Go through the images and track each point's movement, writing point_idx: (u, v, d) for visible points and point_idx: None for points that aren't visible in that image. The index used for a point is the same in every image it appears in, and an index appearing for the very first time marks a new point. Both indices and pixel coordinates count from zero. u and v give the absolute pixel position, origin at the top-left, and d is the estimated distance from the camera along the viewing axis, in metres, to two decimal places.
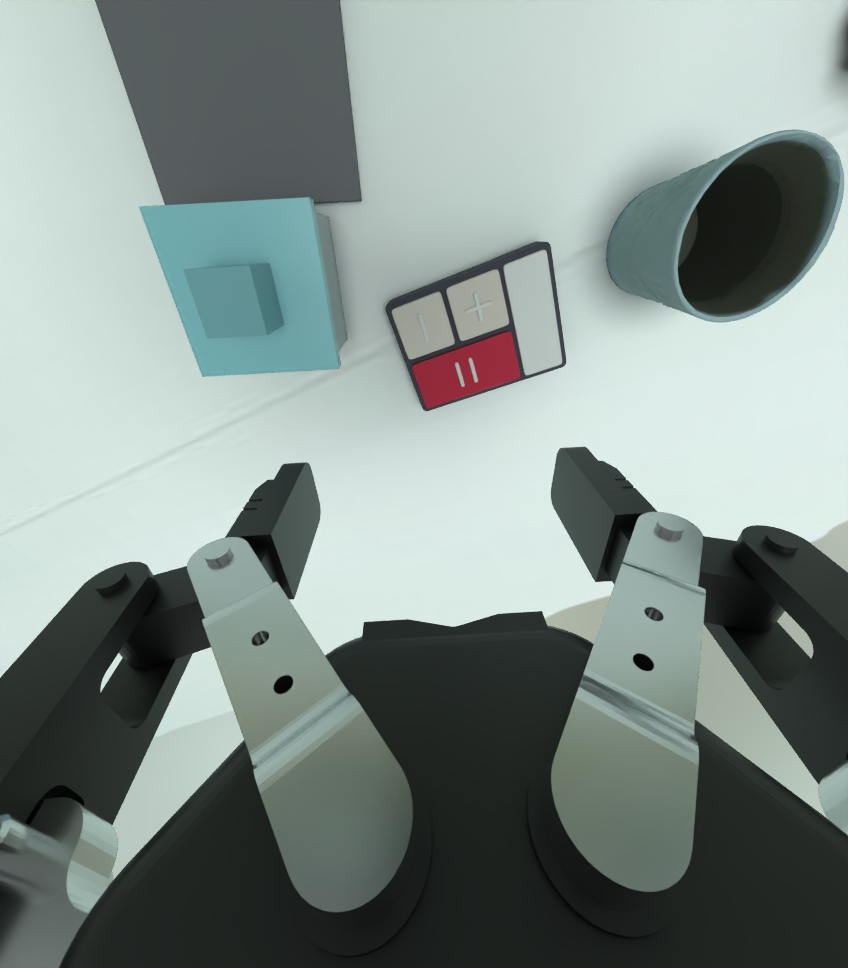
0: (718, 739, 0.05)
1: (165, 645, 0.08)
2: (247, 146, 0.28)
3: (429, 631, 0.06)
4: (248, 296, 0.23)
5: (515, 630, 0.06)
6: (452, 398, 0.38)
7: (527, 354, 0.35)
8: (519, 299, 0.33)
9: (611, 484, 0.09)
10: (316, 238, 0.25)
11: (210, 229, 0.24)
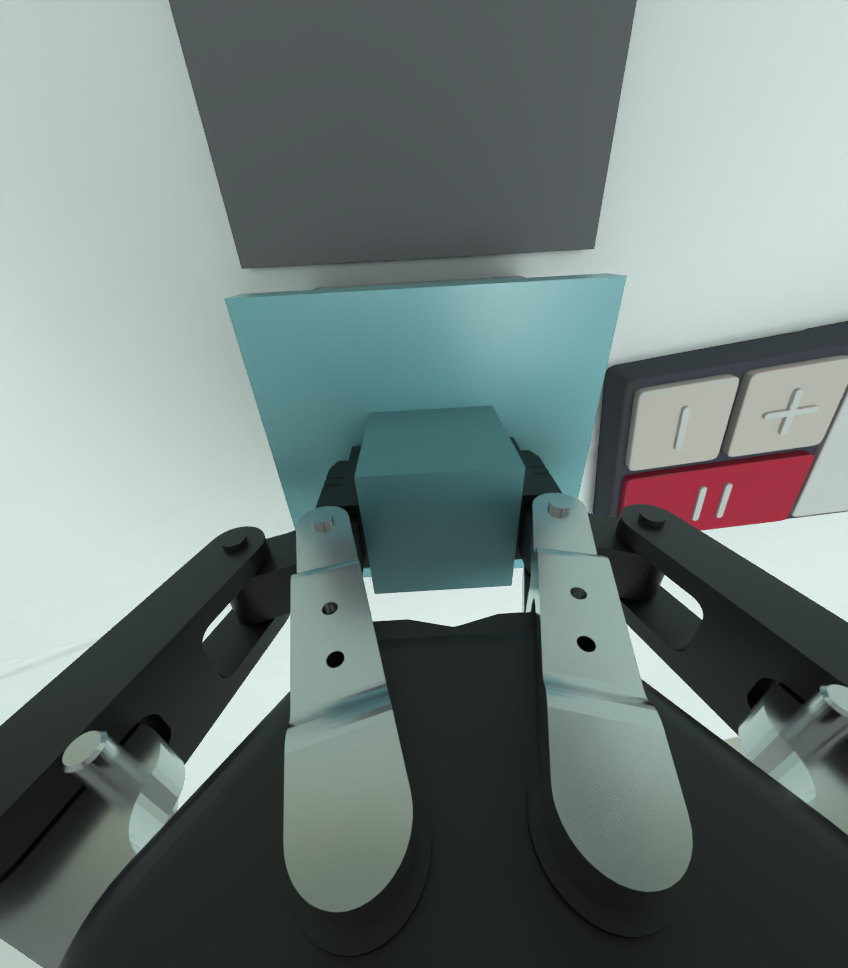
0: (718, 739, 0.05)
1: (276, 601, 0.08)
2: (407, 152, 0.15)
3: (429, 631, 0.06)
4: (498, 523, 0.09)
5: (515, 630, 0.06)
6: None
7: (814, 489, 0.22)
8: None
9: None
10: (604, 357, 0.11)
11: (381, 344, 0.11)
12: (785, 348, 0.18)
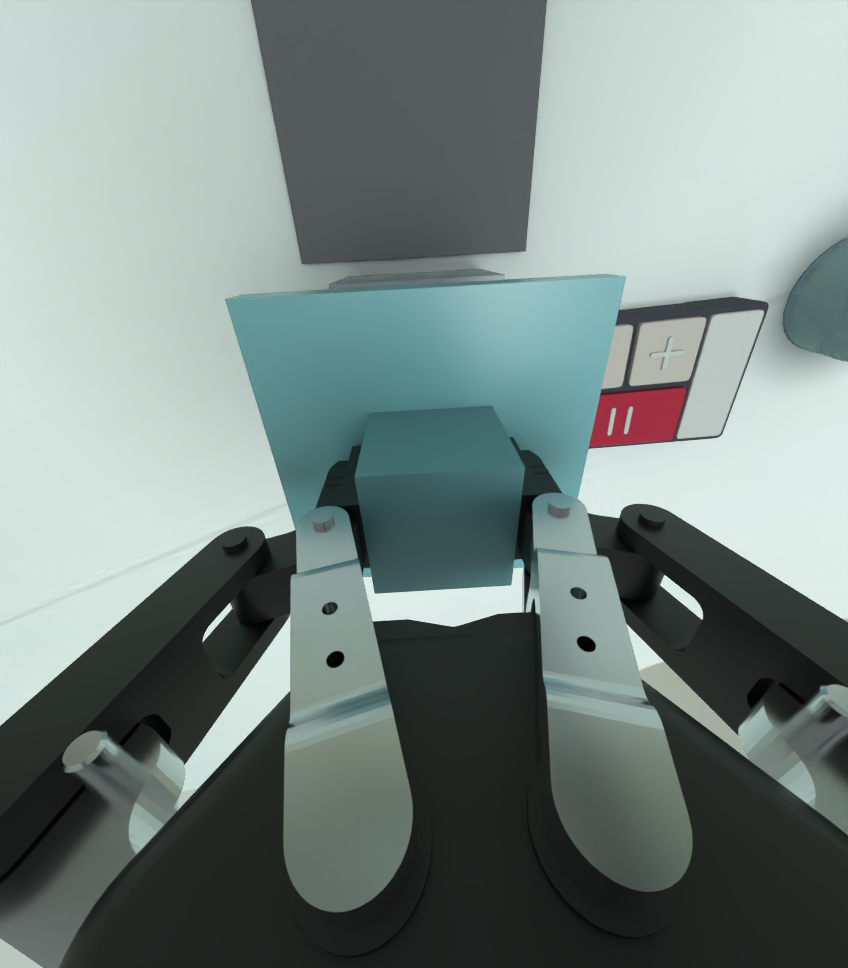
0: (718, 739, 0.05)
1: (276, 601, 0.08)
2: (406, 193, 0.24)
3: (429, 631, 0.06)
4: (498, 524, 0.09)
5: (515, 630, 0.06)
6: (590, 445, 0.32)
7: (689, 416, 0.31)
8: (710, 356, 0.28)
9: None
10: (604, 357, 0.12)
11: (381, 344, 0.11)
12: (665, 310, 0.28)
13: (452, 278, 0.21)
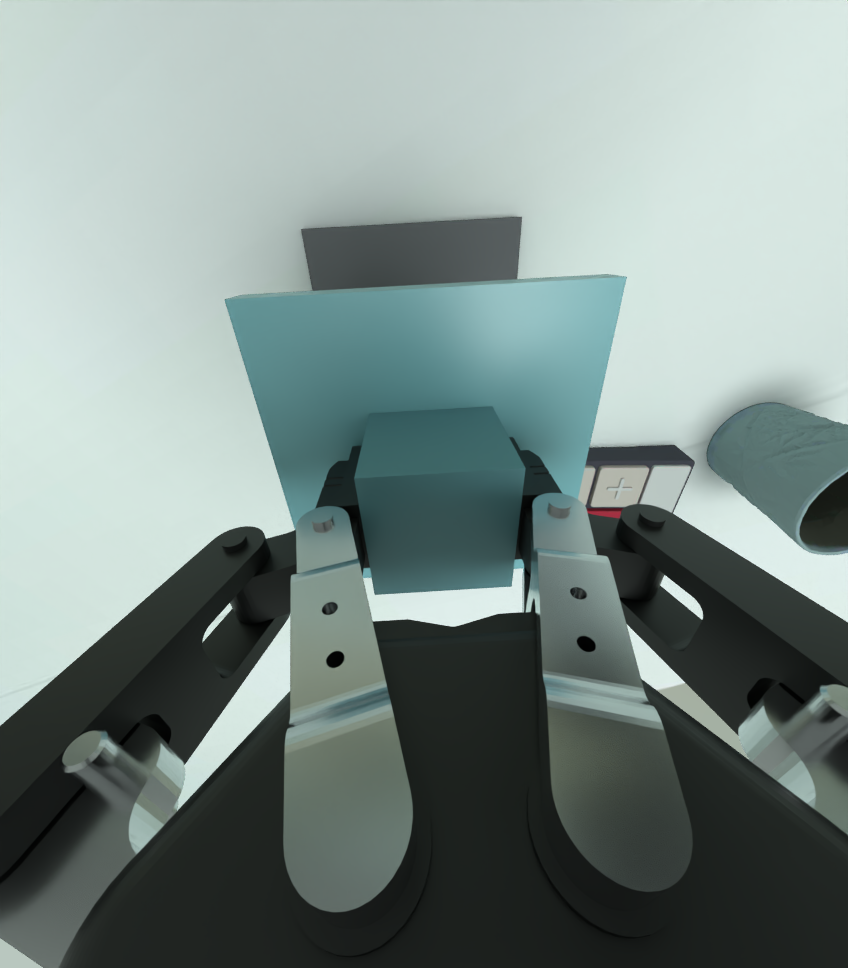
0: (718, 739, 0.05)
1: (276, 602, 0.08)
2: None
3: (429, 631, 0.06)
4: (498, 525, 0.09)
5: (515, 630, 0.06)
6: None
7: None
8: (652, 492, 0.37)
9: None
10: (604, 358, 0.11)
11: (381, 344, 0.11)
12: (620, 457, 0.36)
13: None
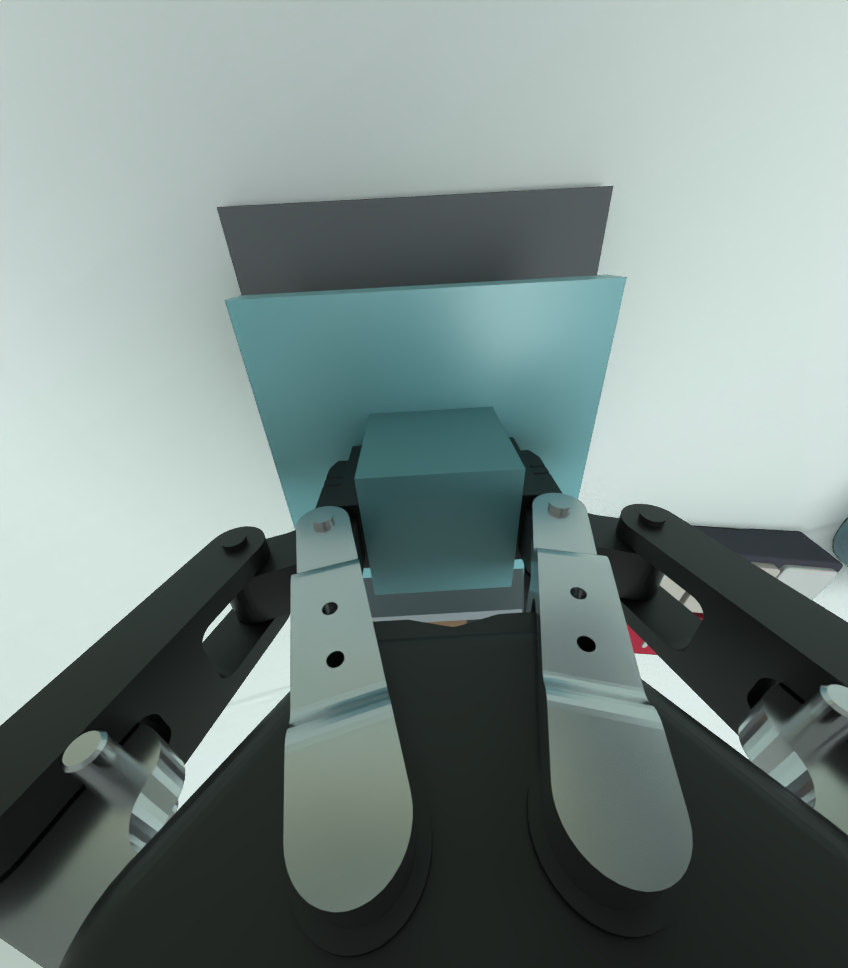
0: (718, 739, 0.05)
1: (276, 601, 0.08)
2: None
3: (429, 630, 0.06)
4: (498, 525, 0.09)
5: (515, 630, 0.06)
6: None
7: None
8: None
9: None
10: (604, 358, 0.11)
11: (381, 345, 0.11)
12: (737, 547, 0.25)
13: (478, 611, 0.18)
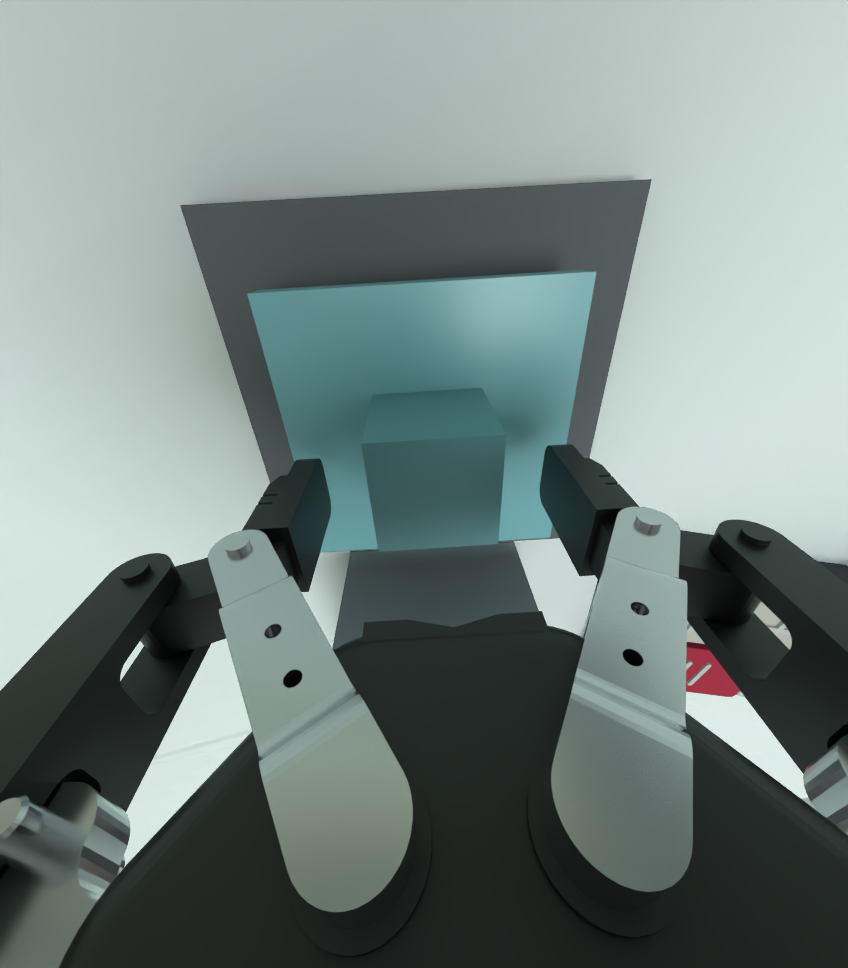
0: (718, 739, 0.05)
1: (187, 634, 0.08)
2: None
3: (429, 631, 0.06)
4: (485, 486, 0.11)
5: (515, 630, 0.06)
6: None
7: None
8: None
9: (595, 480, 0.10)
10: (580, 343, 0.13)
11: (383, 332, 0.12)
12: None
13: None
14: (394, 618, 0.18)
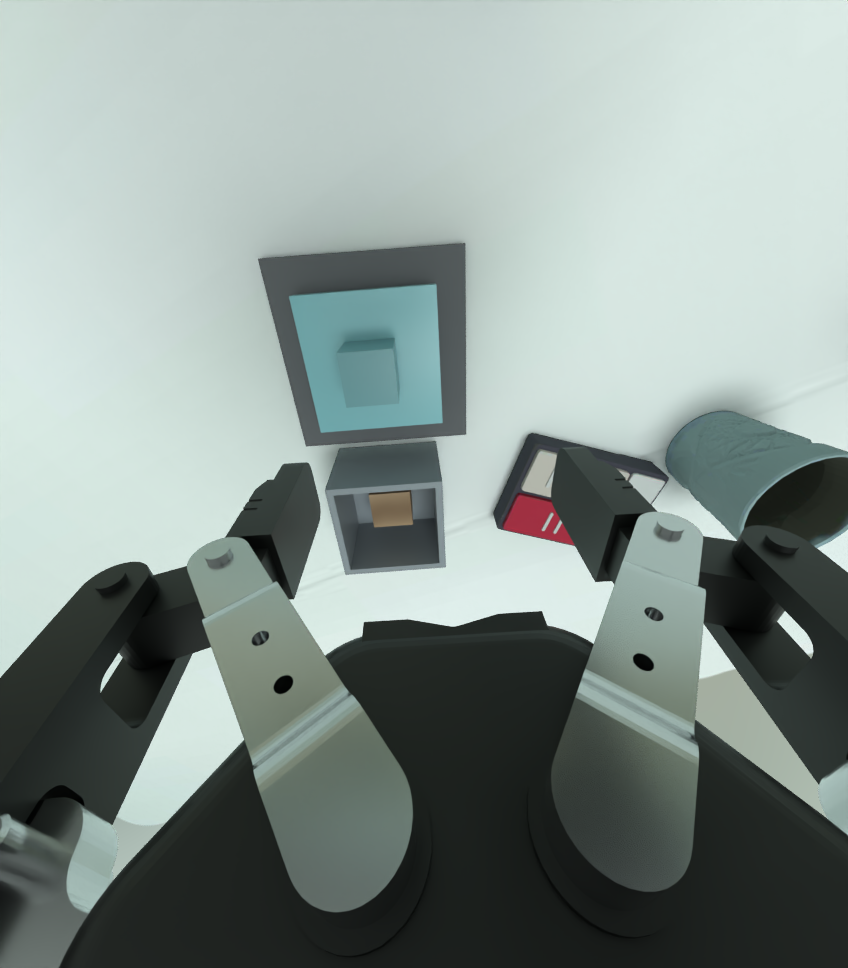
0: (718, 739, 0.05)
1: (165, 645, 0.08)
2: None
3: (429, 631, 0.06)
4: (388, 373, 0.27)
5: (515, 630, 0.06)
6: (527, 533, 0.41)
7: None
8: None
9: (611, 484, 0.09)
10: (437, 316, 0.29)
11: (347, 312, 0.28)
12: (606, 458, 0.37)
13: (407, 484, 0.31)
14: (361, 470, 0.34)
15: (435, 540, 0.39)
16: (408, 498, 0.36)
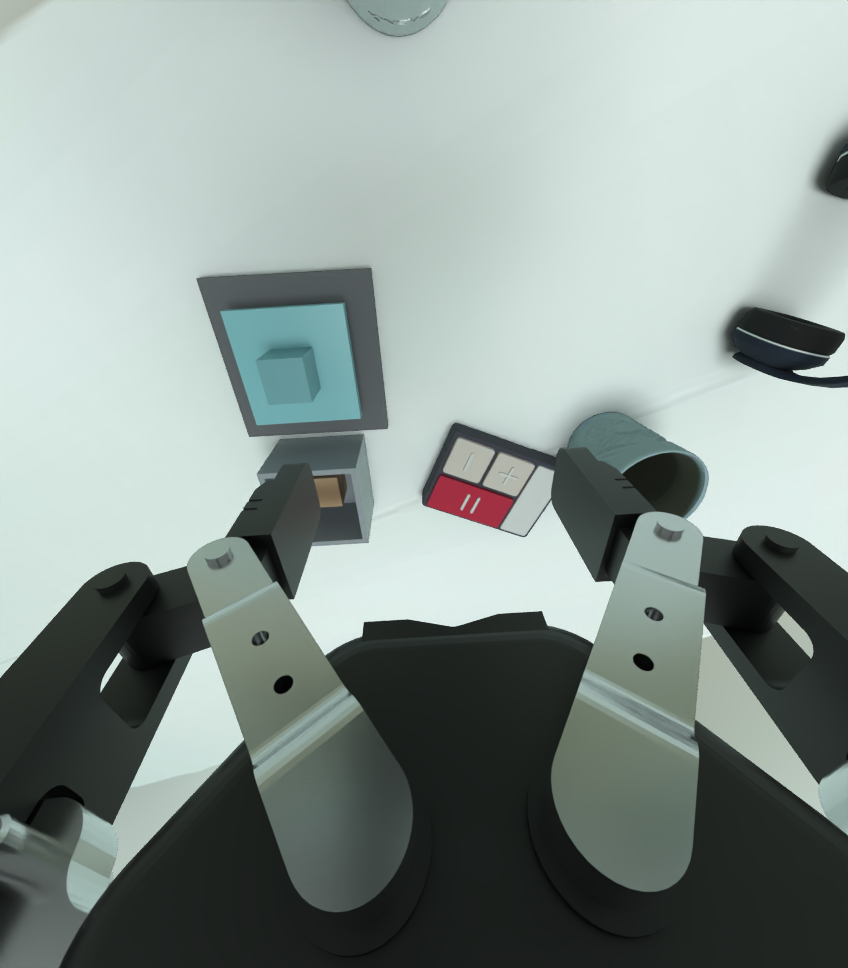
0: (718, 739, 0.05)
1: (165, 645, 0.08)
2: None
3: (429, 631, 0.06)
4: (300, 377, 0.32)
5: (515, 630, 0.06)
6: (447, 511, 0.46)
7: (511, 518, 0.47)
8: (532, 488, 0.45)
9: (611, 484, 0.09)
10: (347, 329, 0.34)
11: (270, 325, 0.34)
12: (517, 450, 0.43)
13: (326, 470, 0.37)
14: (292, 458, 0.40)
15: None
16: (336, 483, 0.42)
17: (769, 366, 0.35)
